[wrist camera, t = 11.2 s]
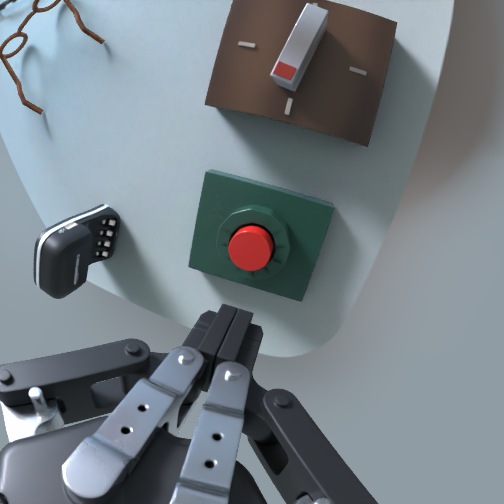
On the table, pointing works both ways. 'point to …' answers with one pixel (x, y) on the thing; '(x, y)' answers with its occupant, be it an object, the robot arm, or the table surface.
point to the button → (251, 248)
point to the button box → (267, 217)
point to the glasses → (21, 34)
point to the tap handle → (300, 47)
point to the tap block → (316, 75)
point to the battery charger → (74, 249)
